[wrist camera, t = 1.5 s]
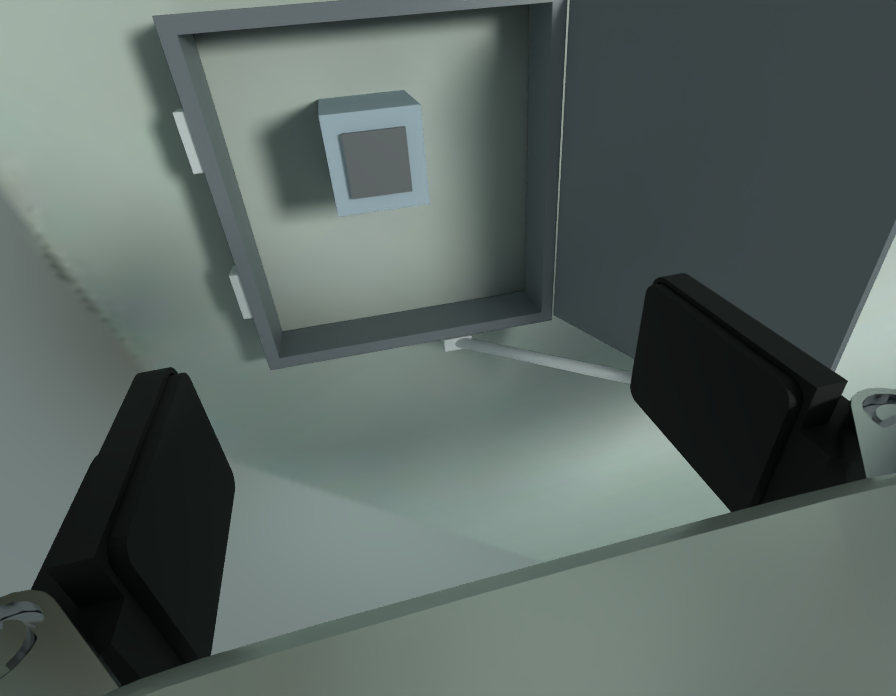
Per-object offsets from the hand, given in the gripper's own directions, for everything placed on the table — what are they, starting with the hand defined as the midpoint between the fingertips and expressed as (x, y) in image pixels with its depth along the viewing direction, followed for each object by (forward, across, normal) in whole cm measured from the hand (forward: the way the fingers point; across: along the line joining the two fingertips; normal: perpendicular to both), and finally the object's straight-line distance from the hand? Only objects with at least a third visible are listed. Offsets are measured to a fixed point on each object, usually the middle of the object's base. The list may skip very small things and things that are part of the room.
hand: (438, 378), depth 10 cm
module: (+25, -1, 0) cm, 25 cm away
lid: (+13, -15, +3) cm, 20 cm away
